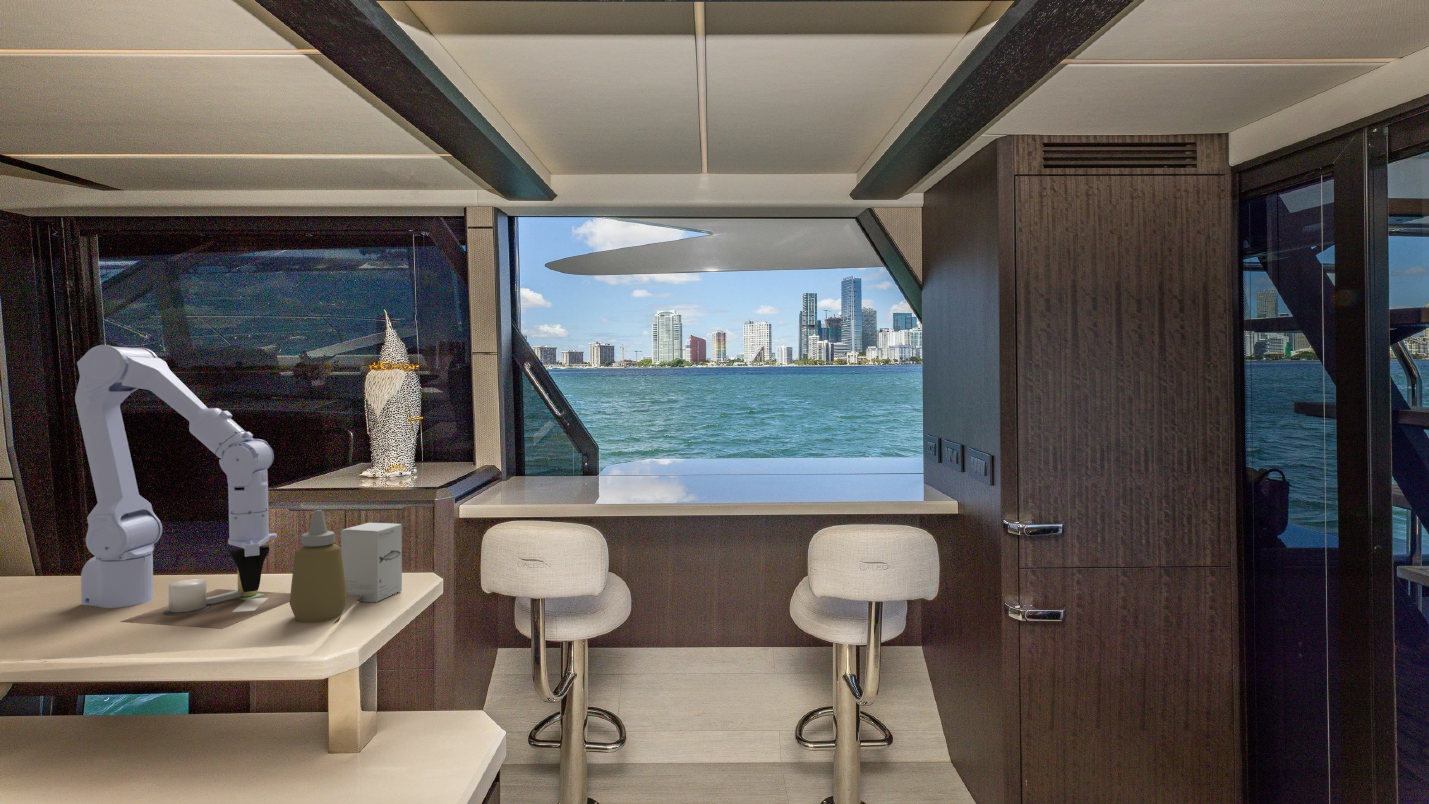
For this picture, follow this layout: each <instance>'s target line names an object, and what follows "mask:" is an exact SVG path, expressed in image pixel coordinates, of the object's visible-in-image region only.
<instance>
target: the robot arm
mask: <svg viewBox="0 0 1429 804" xmlns="http://www.w3.org/2000/svg"><path fill="white" fill-rule="evenodd" d="M76 365H77V369H78V373H79V379H78V383H77V387H76V392H75V396H74V402H75V405H76V410H77V415H78V419H79V420H78V421H79V424H80V428H81V433H82V438H83V442H84V443H83V444H84V447H85V451H86V455H87V461H88V464H89V465H88V466H89V468H90V469H89V471H90V475H91V478H92V483H93V487H94V493H95V497H96V502H97V503H96V505H95V506H94V507H93V509H92V510H91V512H90V513H89V514H88V515H87V517H86V519H87V524H88V527H87V532H86V536H85V545H86V547H87V550H88V551H89V552H90V553H91V554H92V555H93V557H91V558H90V559H89V560H87V561H86V563H85V564H84V565H83V566H82V570H81V574H80V587H81V589H80V590H81V591H80V592H81V596H80V597H81V600H80V601H81V602H80V603H81V605H82V606H92V607H93V606H94V607H99V608H102V609H103V608H104V609H113V608H126V607H131V606H138V605H141V604H145V603H148V602H149V601H152V600H153V599H154V563H153V561H154V557H153V552H154V550H155V544H156V543H157V542H159V540H160V538H161V537H162V535H163V524H162V522H161V520H160V519H159V517H158V516H157V515H156V514H155V512H154V511H153V510H154V509H153V506H152V503H151V502H149V500H147V499H145V498H144V497H143V496H142V495H140V493H139V488H138V482H137V479H136V474H135V470H134V465H133V461H132V457H131V452H130V446H129V442H128V438H127V433H126V430H125V424H124V420H123V415H122V410H121V404H122V403H124V401H125V400H126V399H127V398H128V397H129V395H131V394H132V393H133V392H135V391H137V390H139V389H142V390H147V391H150V392H152V393H153V394H155V395H156V396H157V397H158V398H159V399H161V401H163V402H164V403H165V404H167V405H168V406H169V407H171V408H172V409H174V410H175V411H176V412H177V413H178V414H179V415H180V416H182V417H184V418H185V419H186V420H187V421H188V422H189V425H188V429H189V430H188V431H189V432H190V434H191V435H192V436H193V437H195V438H196V439H197V440H198V441H199V442H201V443H202V444H203V445H204V446H205V447H206V448H207V449H208V450H209V451H211V452H212V453H213V454H214V455H215V456H216V457H217V458H219V460H218V463H219V467H220V469H221V470H222V472H223V473H225V475H226V478H227V480H226V481H227V484H228V485H227V489H228V491H227V494H228V530H229V531H228V533H229V537H228V539H227V544H228V545H230V546H233V547H237V548H241V549H233V550H230V551H229V555H230V556H231V559H232V560H233V561H234V563H235V565H236V568H238V571H239V575H240V580H241V585H242V589H243V591H244V592H250V591H259V588H260V584H261V579H262V578H261V577H262V573H263V572H262V571H263V566H264V564H265V560H266V559H267V557H268V555H269V553H270V547H269V546H268V545H264V544H266V543H267V542H269V541H270V540H276V539H278V534H277V533H276V532H274V533H270V523H269V522H270V521H269V516H270V515H269V479H268V477H269V476H268V469H269V468H270V467H272V464H273V462H274V459H275V455H274V450H273V448H272V447H271V445H270V444H269V443H268V441H266V440H265V439H260V438H253V437H254V434H253V433H252V432H250V431H246V430H244V429H243V428H242V426H240V425H239V424H238V423H237V422H236V421H234V419H232V417H233V414H232V413H231V412H230V411H229V410H222V409H221V408H218V407H212V408H209V407H207V405H206V404H204V402H202V400H200V398H198V396H197V395H195V393H194V392H193V391H191V389H189V387H187V385H186V384H185V383H183V381H181V380H180V378H179V377H177V375H176V374H175V373H174V372H173V371H171V369H170V367H169V366H168V363H167V362H166V361H165V360H164V359H162V358H160V357H158V355H157V354H156V353H155V352H154V351H153V350H151V349H149V348H146V347H126V346H112V345H109V344H100V345H96V346H93V347H91V348H90V349H89V350H88V351H87V352H85V354H84V355H82V357H81V358H80V359H79V360H78V361H77V362H76Z"/></svg>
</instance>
